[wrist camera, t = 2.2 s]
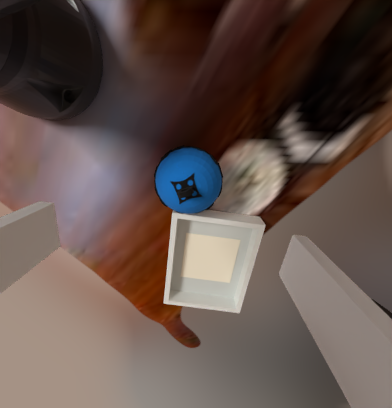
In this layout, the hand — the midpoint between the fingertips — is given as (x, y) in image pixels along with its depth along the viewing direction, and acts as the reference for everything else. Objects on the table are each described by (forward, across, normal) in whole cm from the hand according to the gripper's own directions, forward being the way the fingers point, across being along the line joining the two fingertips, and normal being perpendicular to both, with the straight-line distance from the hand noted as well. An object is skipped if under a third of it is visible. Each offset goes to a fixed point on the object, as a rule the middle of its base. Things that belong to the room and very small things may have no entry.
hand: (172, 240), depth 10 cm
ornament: (+19, 0, 0) cm, 19 cm away
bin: (+18, +5, -14) cm, 24 cm away
